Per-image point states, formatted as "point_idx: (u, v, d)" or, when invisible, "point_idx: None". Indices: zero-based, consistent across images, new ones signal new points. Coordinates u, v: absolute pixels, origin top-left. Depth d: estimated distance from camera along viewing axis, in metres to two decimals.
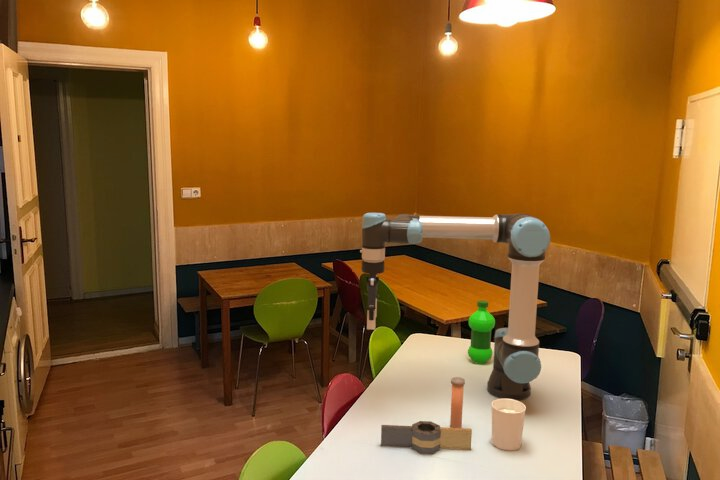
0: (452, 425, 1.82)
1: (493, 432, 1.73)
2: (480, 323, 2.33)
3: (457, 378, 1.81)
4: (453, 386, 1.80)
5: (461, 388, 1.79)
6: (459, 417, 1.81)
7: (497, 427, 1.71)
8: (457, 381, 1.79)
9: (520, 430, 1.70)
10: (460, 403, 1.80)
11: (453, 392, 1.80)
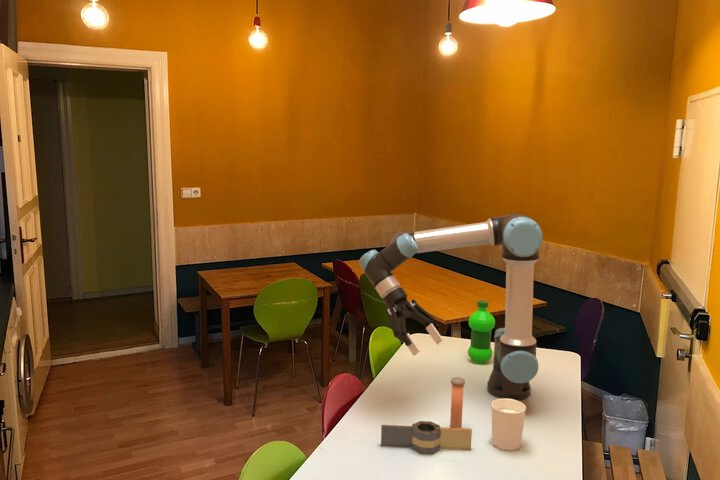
0: (452, 425, 1.82)
1: (493, 432, 1.73)
2: (480, 323, 2.33)
3: (457, 378, 1.81)
4: (453, 386, 1.80)
5: (461, 388, 1.79)
6: (459, 417, 1.81)
7: (497, 427, 1.71)
8: (457, 381, 1.79)
9: (520, 430, 1.70)
10: (460, 403, 1.80)
11: (453, 392, 1.80)
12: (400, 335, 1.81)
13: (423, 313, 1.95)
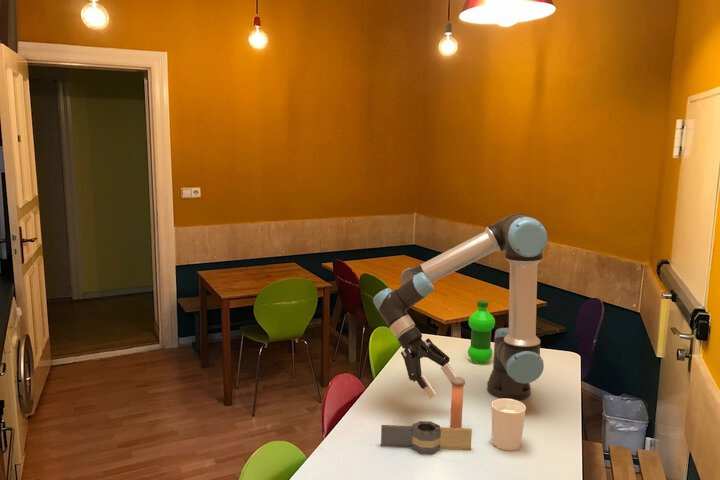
0: (452, 425, 1.82)
1: (493, 432, 1.73)
2: (480, 323, 2.33)
3: (457, 378, 1.81)
4: (453, 386, 1.80)
5: (461, 388, 1.79)
6: (459, 417, 1.81)
7: (497, 427, 1.71)
8: (457, 381, 1.79)
9: (520, 430, 1.70)
10: (460, 403, 1.80)
11: (453, 392, 1.80)
12: (415, 378, 1.78)
13: (438, 352, 1.92)
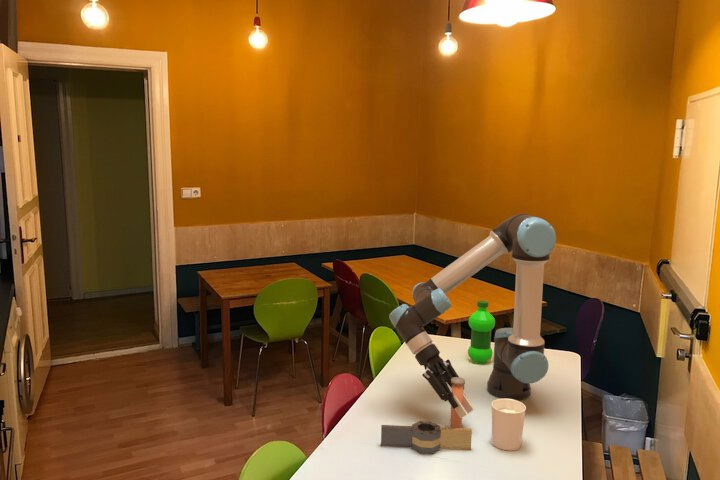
0: (452, 425, 1.82)
1: (493, 432, 1.73)
2: (480, 323, 2.33)
3: (457, 378, 1.81)
4: (453, 386, 1.80)
5: (461, 388, 1.79)
6: (459, 417, 1.81)
7: (497, 427, 1.71)
8: (457, 381, 1.79)
9: (520, 430, 1.70)
10: None
11: (453, 392, 1.80)
12: (447, 398, 1.78)
13: (454, 376, 1.86)
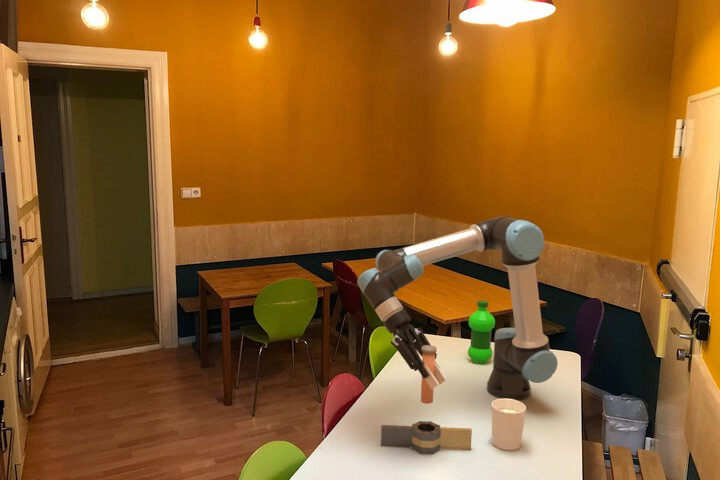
0: (423, 397, 1.68)
1: (493, 432, 1.73)
2: (480, 323, 2.33)
3: (428, 346, 1.68)
4: (424, 354, 1.66)
5: (432, 356, 1.66)
6: (430, 388, 1.67)
7: (497, 427, 1.71)
8: (428, 349, 1.66)
9: (520, 430, 1.70)
10: None
11: (424, 361, 1.67)
12: (417, 367, 1.65)
13: None
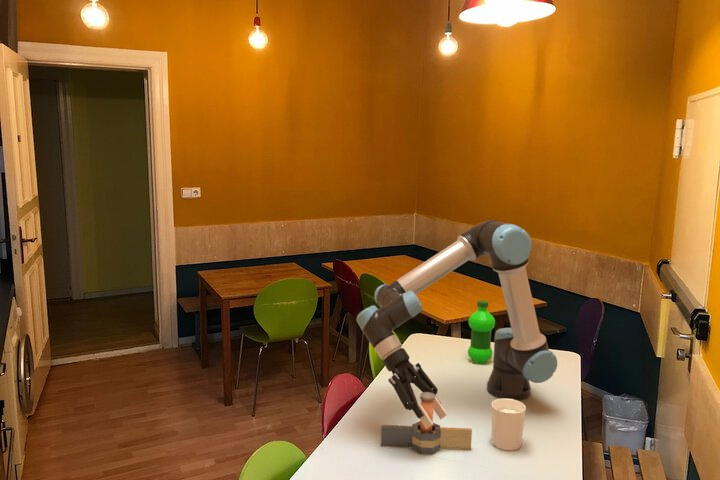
0: None
1: (493, 432, 1.73)
2: (480, 323, 2.33)
3: (427, 393, 1.70)
4: (422, 402, 1.69)
5: (431, 404, 1.68)
6: None
7: (497, 427, 1.71)
8: (426, 396, 1.68)
9: (520, 430, 1.70)
10: None
11: None
12: (411, 407, 1.66)
13: (426, 380, 1.76)
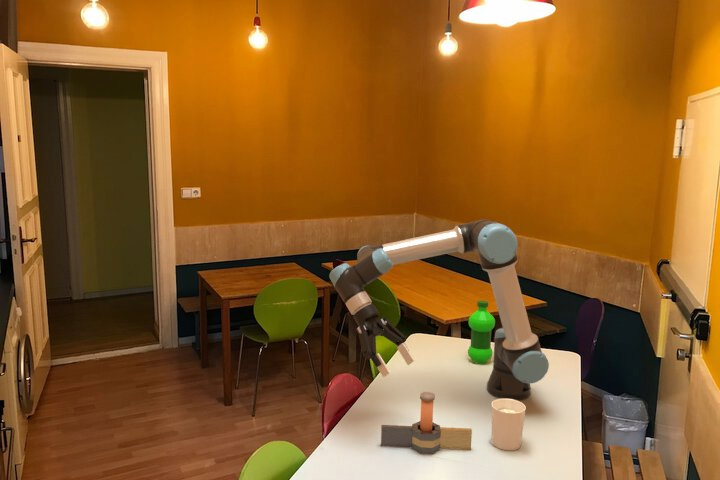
0: None
1: (493, 432, 1.73)
2: (480, 323, 2.33)
3: (427, 393, 1.70)
4: (422, 402, 1.69)
5: (431, 404, 1.68)
6: None
7: (497, 427, 1.71)
8: (426, 396, 1.68)
9: (520, 430, 1.70)
10: (430, 420, 1.69)
11: (422, 408, 1.69)
12: (370, 355, 1.71)
13: (395, 331, 1.85)
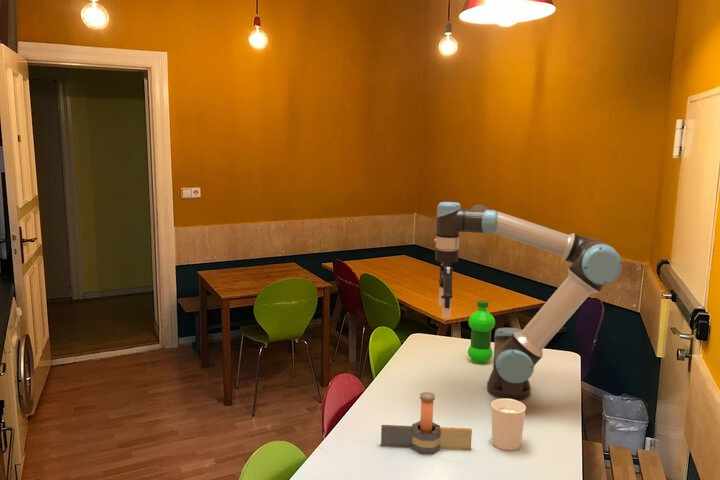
0: None
1: (493, 432, 1.73)
2: (480, 323, 2.33)
3: (427, 393, 1.70)
4: (422, 402, 1.69)
5: (430, 404, 1.68)
6: None
7: (497, 427, 1.71)
8: (426, 396, 1.68)
9: (520, 430, 1.70)
10: (430, 420, 1.69)
11: (422, 408, 1.69)
12: (448, 298, 1.88)
13: None
